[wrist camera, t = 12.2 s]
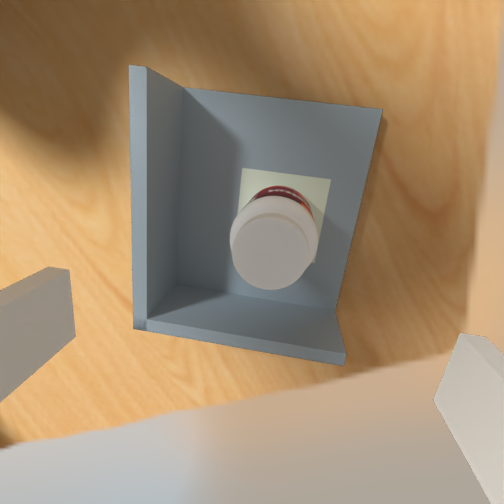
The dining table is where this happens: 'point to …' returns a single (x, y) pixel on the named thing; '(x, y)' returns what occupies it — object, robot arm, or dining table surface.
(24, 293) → the robot arm
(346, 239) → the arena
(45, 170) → the dining table surface
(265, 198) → the pill bottle
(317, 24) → the dining table surface
